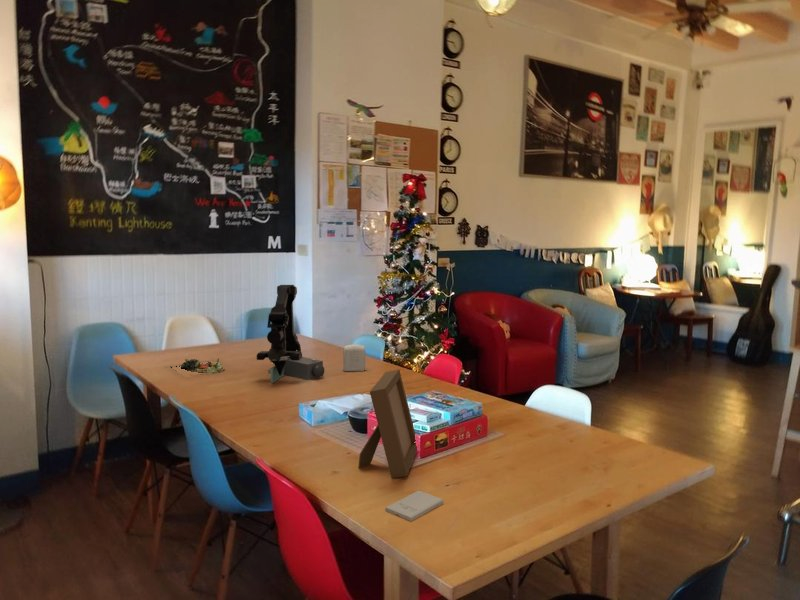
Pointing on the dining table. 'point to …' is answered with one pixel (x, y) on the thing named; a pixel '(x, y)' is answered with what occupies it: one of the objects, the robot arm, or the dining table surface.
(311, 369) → the large grey box
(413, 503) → the external hard drive
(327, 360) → the dining table surface
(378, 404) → the photo frame
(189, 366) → the plated dish
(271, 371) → the grey-green bar
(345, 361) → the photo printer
